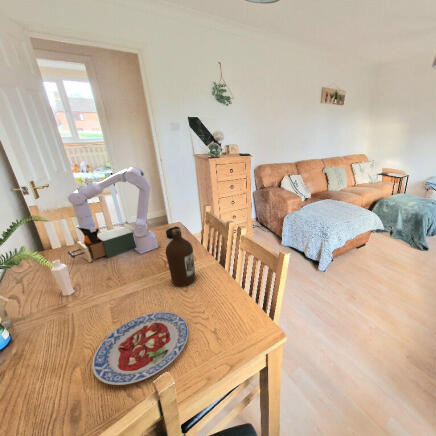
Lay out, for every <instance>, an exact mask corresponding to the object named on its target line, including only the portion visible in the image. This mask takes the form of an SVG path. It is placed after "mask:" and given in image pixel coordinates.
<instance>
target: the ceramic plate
mask: <svg viewBox="0 0 436 436" xmlns="http://www.w3.org/2000/svg"><path fill="white" fill-rule="evenodd" d="M188 339H189V326H188V323H187V321H186V320H185V319H184V318H183V317H182V316H180V315H179V314H177V313H173V312H169V311H157V312H156V311H155V312H151V313H146V314H143V315H140V316H137V317H135V318H132V319H131V320H128V321H126V322H125V323H123V324H121V325H120V326H118V327H117V328H115V330H113V331H112V332H111V333H109V334H108V335H107V336H106V337H105V338H104V339H103V340H102V342H101V343H100V344H99V346H98V347H97V349H96V351H94V352H95V353H94V355H93V358H92V362H91V368H92V373H93V374H94V376H95V377H96V379H98V380H99V381H100V382H102V383H105V384H106V385H113V386H125V385H131V384H134V383H138V382H141V381H143V380H146V379H148V378H150V377H152V376H154V375H156V374H158V373H159V372H161V371H162V370H164V369H165V368H167V367H168V366H169V365H170V364H171V363H172V362H173V361H174V360H175V359H176V358H177V357H178V356H179V355H180V354H181V352H182V350H183V349H184V348H185V346H186V343H187V341H188Z"/></svg>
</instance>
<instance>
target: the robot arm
mask: <svg viewBox="0 0 436 436" xmlns="http://www.w3.org/2000/svg"><path fill="white" fill-rule="evenodd" d="M118 182H121V183H126V182H127V183H129V184H130V185H133V186H135V187H136V188H137V189H138V200H137V211H136V219H135V222H134V226H133V229H132V232H133V235H134V239H135V244H136V248H134V249H133V250H134V251H136V252H138V253H139V254H140V255H141V254H142V255H143V254H144V253H148V252H150V251H153V250H155V249H158V248H159V243H158V239H157V234H155V232H154V231H153V230H150V231H149V229H148V228H149V223H148V212H149V203H150V194H151V183H150V182H149V180H148V178H147V177H146V174H145V171H143V170H141V169H140V168H139V167H137V166H130V167H129V168H128V169H127V168H125V169H123V170H120V171H118V172H116V173H114V174H112V175H110V176H109V177H107V178H105V179H103V180H102V181H99V182H96V181H92V182H91V181H90V182H89V181H88V183H86V185H84V186H83V187H81V188H80V187H78V188H76V190H74V191H72V192H71V193H70V194H69V195H68V197H67V201H68V202H69V203H70V204H71V205H72V208H73V211H74V215H75V218H76V220H77V224H78V225H75V228H76V229H79V231H80V232H81V233H82V234H83V236H84V237H85V236H86V235H87V236H88V238H89V240H90V242H91V243H95V242H97V234H98V233H99V231H100V229H99V228H98V227H96V222H95V220H94V217H93V214H92V210H91V208H90V204H89V201H88V200H91V199H93V198H95V197H96V196H98V195H101V194H103V193H104V189H106V188H109V187H110V186H112V185H115V184H117V183H118Z"/></svg>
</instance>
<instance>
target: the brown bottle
mask: <svg viewBox="0 0 436 436" xmlns="http://www.w3.org/2000/svg"><path fill="white" fill-rule="evenodd" d="M180 231H181V228H180V229H174V230H172V236H173V239H172V241H171V242H170V243H169V244H168V243H167V245H166V247H165V257H166V260H167V261H166V262H167V265H168V268H169V273H170V277H171V282H172V285H173V286H175V287H179V288H181V287H186V286H189V285H191V284H192V283H194V282H195V280H196V272H195V271H196V266H195V258H194V248H193V245H192V243H191V242H190V241H189V240H187V239H185V238H184V237H183V235H182V231H181V232H180Z"/></svg>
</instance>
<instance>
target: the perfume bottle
mask: <svg viewBox="0 0 436 436" xmlns="http://www.w3.org/2000/svg"><path fill="white" fill-rule="evenodd" d="M52 264H53V267H52V268H51V269H50V272H51V274H52V276H53V277H54V280H55V281H56V283H57V285H58V286H59V288H60V291H61V292H62V296H63V297H65V296H70V295H72V294H73V293H75V292H76V291H75V289H74V288H73V284H72V280H71V276H70V272H69V269H68V266H67V265H66V264H64V263H61V260H60V259H56V260H53V261H52ZM54 266H55V267H54Z"/></svg>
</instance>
